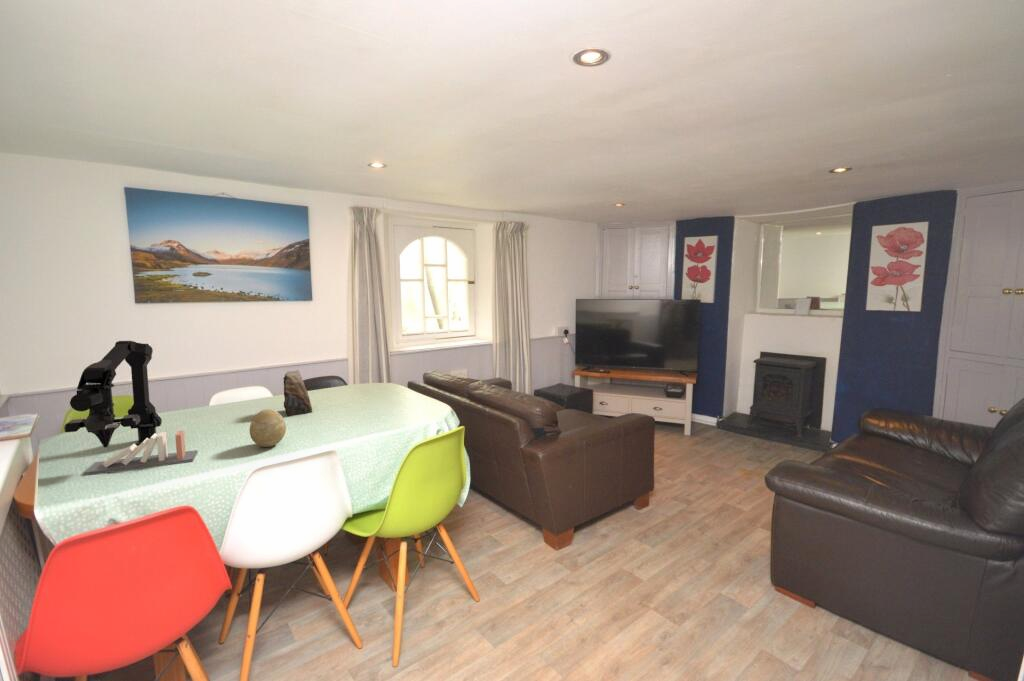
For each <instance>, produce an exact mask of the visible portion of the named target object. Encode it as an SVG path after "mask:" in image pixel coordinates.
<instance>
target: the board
mask: <svg viewBox="0 0 1024 681" xmlns="http://www.w3.org/2000/svg"><path fill="white" fill-rule="evenodd" d="M185 452H186V454H185V456H184V457H183V459H178V460H177V452H171V453H169V452H168V456H167V458H166V459H165V460H164V461H159V456H158V454H154V455H153V454H151V455H150V457H149V459H148V460H147V461H146V463H144V462H140V460H141V458H142V456H137V457H136V456H135V457H134V458H133V459H132V460H131V461H130V462H129V463H128V464H127V465H125V464H123V463H122V462H123V460H124V459H125V458H121V459H120V460H118V461H116V462H115V463H113V464H111V465H109V466H108V467H105V466H104V465H103V463H104V462H105V461H106V460H103V461H95V462H93V463H92V465H90V466H89V467H88V468H87V469H86V470H85V471H84V473H83V474H84V476H89V475H96V474H97V475H98V474H103V473H112V472H114V473H115V472H120V471H128V470H129V471H130V470H134V469H135V470H136V469H144V468H145V469H146V468H151V467H153V468H154V467H160V466H168V465H175V464H184V463H191V462H194V460H195V458H196V456H197V455H198V453H199V452H198V450H188V451H186V450H185Z"/></svg>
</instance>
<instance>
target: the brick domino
mask: <svg viewBox="0 0 1024 681" xmlns="http://www.w3.org/2000/svg"><path fill="white" fill-rule="evenodd" d="M174 439H175V449H176V453H177V460H178V459H183V457H184V456H185V454H186V442H185V441H186V440H185V430H177V433H176V434H175V438H174Z"/></svg>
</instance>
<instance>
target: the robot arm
mask: <svg viewBox="0 0 1024 681" xmlns="http://www.w3.org/2000/svg"><path fill="white" fill-rule="evenodd" d="M153 350H154V349H153V347H152V346H151V345H149V343H141V342H136V341H133V340H118V341H116V342H115V343H114V346H113V347H112V348H111V349H110V350H109V351H108V352H107V354H105V355H104V356H103V357H102V358H101V360H99V361H97V362H95V363H91V364H89V365H88V366H87V367H85V368H84V370H83V371H82V372H81V375H80V378H79V381H78V384H77V386H76V389H77V390H76V394H75V395H73V396H72V397H71V399H70V400H69V406H70V407H71V408H72V409H73V410H75V411H76V412H81V413H82V412H85V411H89V412H88V415H87V417H86V418H77V419H72V420H69V421H68V422H66V423H65V425H64V427H63V429H64V433H73V432H78V431H79V430H80V429H81V428H85V430H86V431H87V433H91V434H94V435H95V437H96V438H97V439H98V440H99V442H100V444H102V447H103V448H108V447H109V445H110V443H111V439H112V436H113V434H114V432H115V431H116V430H117V429H118V428H120V426H122V427H123V428H128V427H130V430H131V429H137V438H138V440H137V441H136V442H135V443H134V444H135V445H136V446H138V445H140V444H141V443H142V442H143V441H144V440H145V439H146V438H148V439H150V438H151V437H152V436H153V434H154V433H156V434H157V430H156V429H157V427H160V426H161V425H162V422H163V421H162V418H161V417H160V415H159V414H158V413H157V410H156V407H155V405H154V404H153V403H151V401H150V392H149V391H150V388H149V375H148V365H149V363H150V362H151V360H152V359H153V358H152V357H153V356H152V354H153V353H154V352H153ZM124 361H125V362H126V363H127V365H129V367H130V371H131V372H130V374H131V384H132V398H133V404H132V406H131V407H130V408H129V409H128V410H127V414H126V415H124V416H122V417H121V418H116V414H115V412H114V406H115V403H114V401H113V392H112V388H114V387H115V384H114V383H112V382H113V380H114V379H115V377H116V375H117V372H116V369H117V368H118V367H119V366H120V365H121V364H122V362H124Z"/></svg>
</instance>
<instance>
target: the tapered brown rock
mask: <svg viewBox="0 0 1024 681" xmlns="http://www.w3.org/2000/svg"><path fill="white" fill-rule="evenodd" d="M283 396H284V401H283V408H284V411H285V415H286V416H287V417H294V416H300V415H307V414H312V413H313V407H312V403H311V399H310V396H309V392H308V390H307V388H306V385H305V382H304V380H303V377H302V374H301V373H300V371H299V370H296V371H287V372H286V373H285V374H284V377H283Z"/></svg>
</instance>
